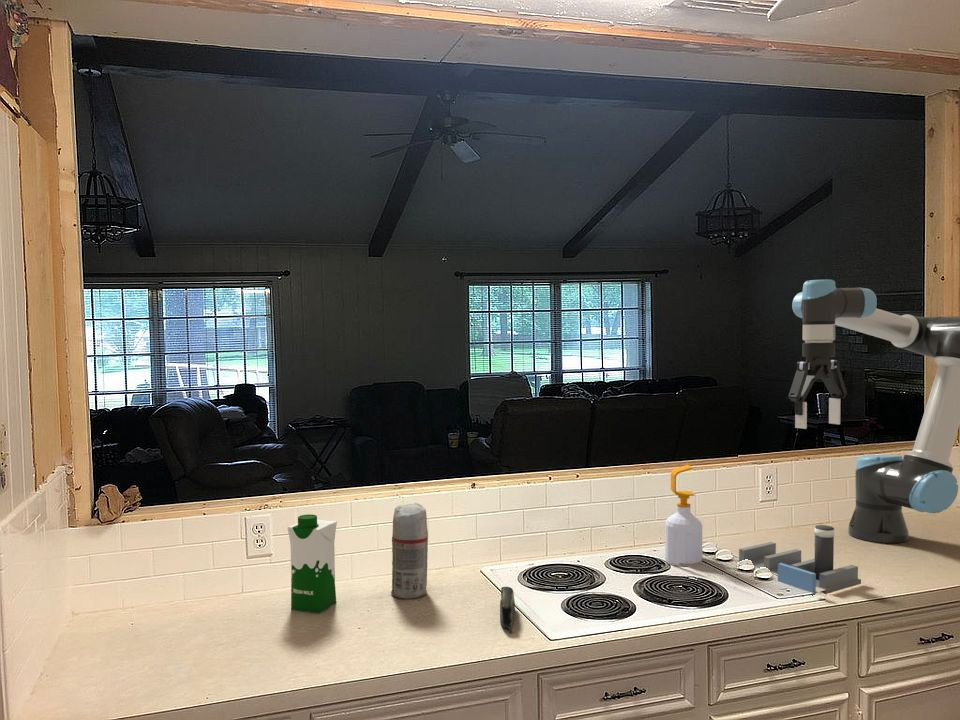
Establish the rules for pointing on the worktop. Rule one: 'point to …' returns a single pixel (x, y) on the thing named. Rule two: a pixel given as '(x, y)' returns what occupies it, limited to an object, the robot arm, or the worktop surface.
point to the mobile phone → (507, 608)
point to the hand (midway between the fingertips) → (818, 426)
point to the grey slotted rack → (800, 566)
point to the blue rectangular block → (797, 577)
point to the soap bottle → (682, 529)
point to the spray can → (409, 551)
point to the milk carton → (312, 564)
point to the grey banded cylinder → (823, 549)
